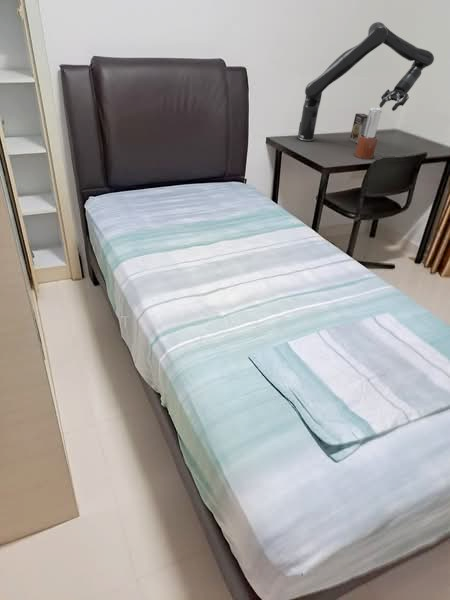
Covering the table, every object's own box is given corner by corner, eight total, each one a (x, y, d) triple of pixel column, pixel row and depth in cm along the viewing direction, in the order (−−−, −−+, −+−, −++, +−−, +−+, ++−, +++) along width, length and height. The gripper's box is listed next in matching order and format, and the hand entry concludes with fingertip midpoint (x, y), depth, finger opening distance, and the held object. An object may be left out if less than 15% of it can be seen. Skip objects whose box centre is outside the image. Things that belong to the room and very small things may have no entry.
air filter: (372, 156, 248) (384, 109, 234) (363, 156, 246) (374, 109, 232) (365, 152, 253) (377, 107, 239) (356, 153, 251) (367, 107, 237)
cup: (351, 154, 252) (356, 134, 245) (364, 152, 256) (369, 133, 249) (362, 159, 245) (367, 139, 238) (376, 158, 249) (381, 138, 242)
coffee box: (349, 140, 278) (355, 113, 269) (357, 139, 280) (363, 113, 271) (357, 144, 271) (363, 116, 262) (365, 143, 273) (372, 116, 264)
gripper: (392, 77, 241) (374, 100, 242) (414, 81, 232) (395, 106, 233) (395, 87, 247) (377, 110, 248) (417, 92, 238) (398, 115, 239)
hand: (386, 108), depth 240 cm, fingers open, 8 cm apart
